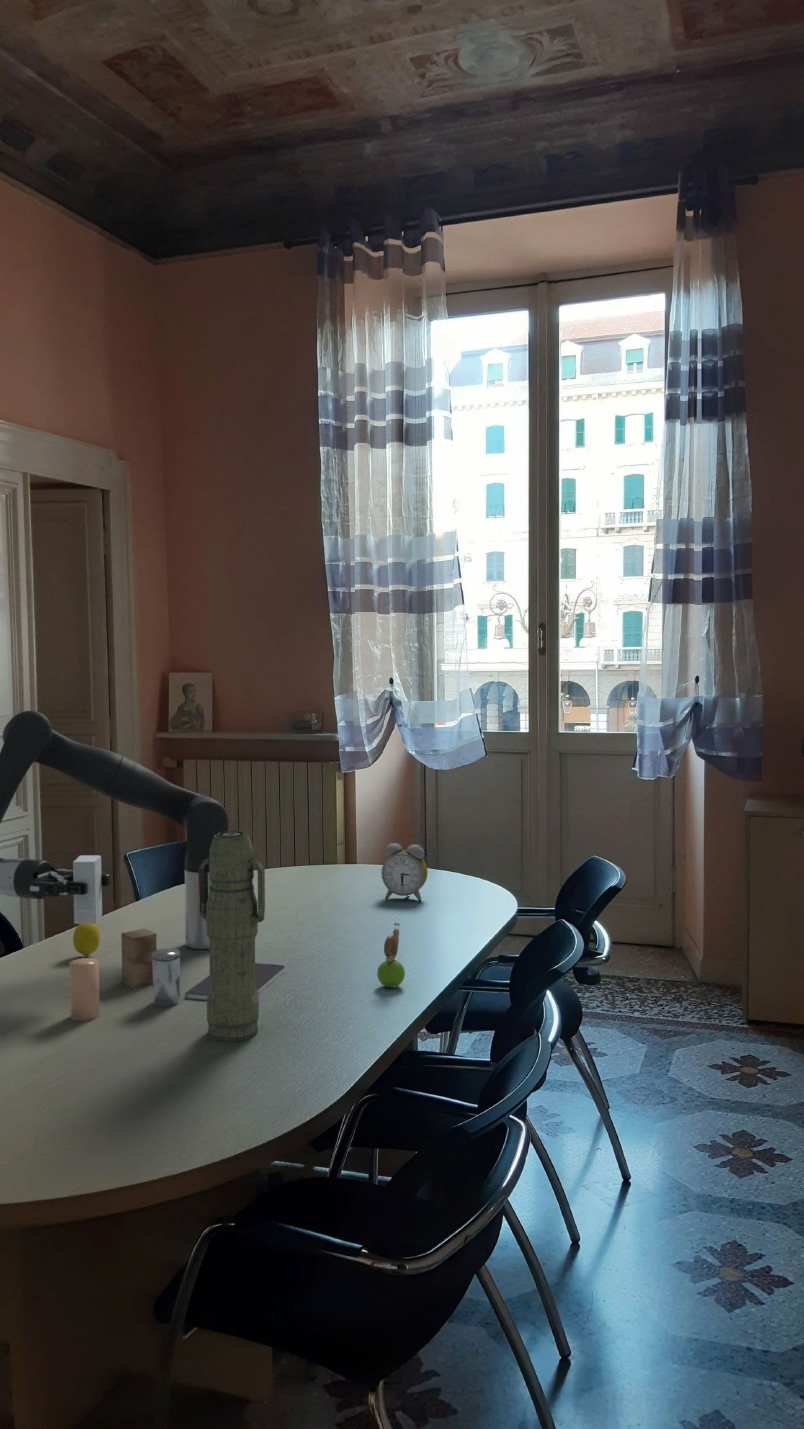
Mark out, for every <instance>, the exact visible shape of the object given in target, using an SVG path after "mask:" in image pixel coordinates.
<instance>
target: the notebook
mask: <svg viewBox="0 0 804 1429" xmlns="http://www.w3.org/2000/svg"><path fill="white" fill-rule="evenodd" d="M284 971H285V965H283V964H273V963H271V964H270V963H259V962H255V985H256V988H257V991H258V994H260V993H261V992H262V991H263V990H264V989H265V988H267V987H268V986H269V985H270V984H271V983H273V982H274V981H275V980H276V979H277V978H278V977H279V976H281V975H282V974H283V973H284ZM209 990H210V974H209V975H207V977H205V978H204V979H203V980H201V981H200V982H198V983H197V984H196V985H194V986H193V987H192V988H190V989H189V990H188V991H186V992H185V993H184V994H185V995H184V998H185V999H192V1000H193V999H194V1000H195V999H196V1000H204V1001H207V996H208V993H209Z"/></svg>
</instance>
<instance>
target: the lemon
mask: <svg viewBox="0 0 804 1429" xmlns="http://www.w3.org/2000/svg"><path fill="white" fill-rule="evenodd" d="M72 938H73V939H72V942H73V947H74V949H75V950H76V951H77V952H78V953H79V954H81V955H83V956H84V958H89V957H90V955H91V954H93V953H94V952H96V951H97V949H98V948H99V945H100V941H101V935H100V931H99V928H98V927H97V925H96V923H93V924H77V926H76V928H75V929H74V932H73V937H72Z"/></svg>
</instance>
